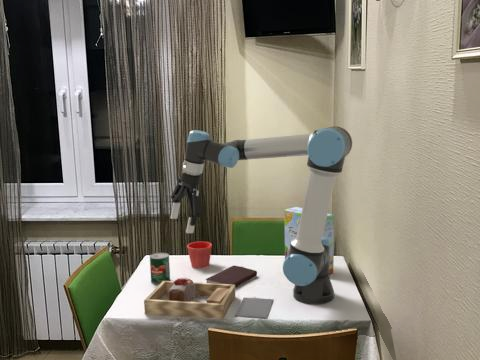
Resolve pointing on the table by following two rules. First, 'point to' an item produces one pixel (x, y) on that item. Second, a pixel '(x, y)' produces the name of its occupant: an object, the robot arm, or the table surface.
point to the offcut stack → (217, 295)
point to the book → (233, 276)
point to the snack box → (292, 226)
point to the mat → (254, 308)
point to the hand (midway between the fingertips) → (181, 225)
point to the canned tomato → (159, 267)
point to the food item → (182, 290)
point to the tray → (189, 309)
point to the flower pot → (199, 254)
